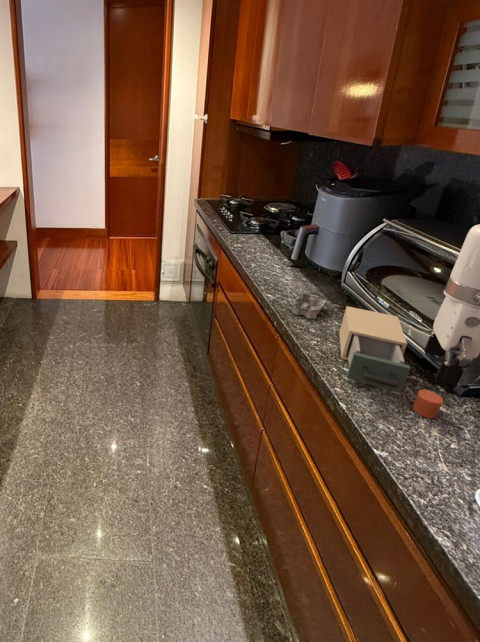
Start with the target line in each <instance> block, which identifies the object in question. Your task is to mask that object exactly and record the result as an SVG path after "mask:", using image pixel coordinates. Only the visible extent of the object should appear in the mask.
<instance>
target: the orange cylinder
mask: <svg viewBox="0 0 480 642" xmlns="http://www.w3.org/2000/svg"><path fill="white" fill-rule="evenodd" d="M443 403H444V399H443V397H442V396H441V395H440V394H438V393H436V392H435V391H432V390H430V389H429V390H428V389H420V390H418V392H417V394H416V397H415V399H414V401H413V404H412V409H413V411H414V412H415V413H416V414H418V415H420V416H421V417H424V418H426V419H436V418H437V417H438V414H439V412H440V410H441V408H442V406H443Z"/></svg>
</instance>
